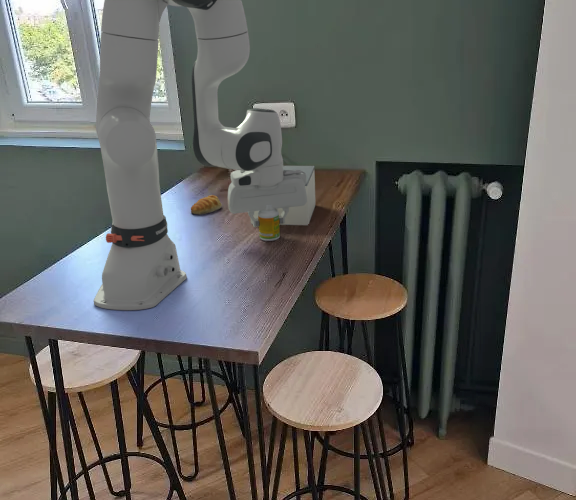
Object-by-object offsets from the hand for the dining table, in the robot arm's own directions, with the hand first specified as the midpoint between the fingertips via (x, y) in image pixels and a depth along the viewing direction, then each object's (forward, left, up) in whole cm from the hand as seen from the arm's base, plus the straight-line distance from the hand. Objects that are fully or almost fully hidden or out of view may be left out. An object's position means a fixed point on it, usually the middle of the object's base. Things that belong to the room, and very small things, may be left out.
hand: (268, 224), depth 156 cm
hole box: (+17, -1, -4) cm, 17 cm away
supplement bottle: (0, 0, -4) cm, 4 cm away
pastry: (+20, +23, -4) cm, 31 cm away
